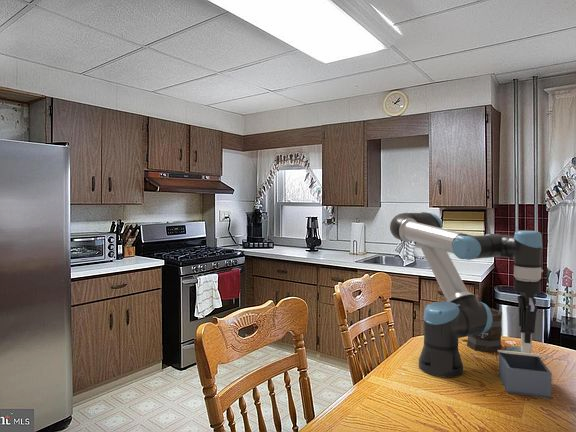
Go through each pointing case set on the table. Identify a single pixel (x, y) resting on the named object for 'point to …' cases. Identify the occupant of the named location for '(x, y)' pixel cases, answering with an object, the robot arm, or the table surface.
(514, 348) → the packaged food
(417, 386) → the table surface
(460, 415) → the table surface
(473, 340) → the mug
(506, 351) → the lid
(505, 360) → the box
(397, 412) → the table surface
